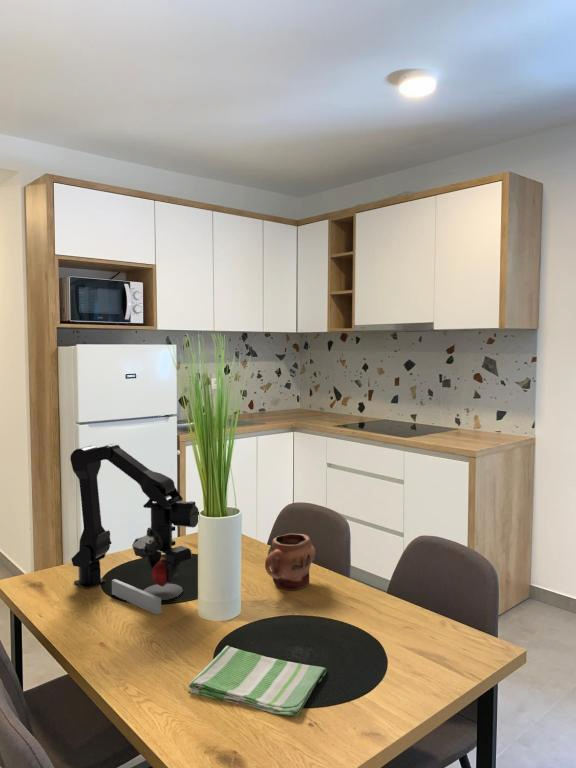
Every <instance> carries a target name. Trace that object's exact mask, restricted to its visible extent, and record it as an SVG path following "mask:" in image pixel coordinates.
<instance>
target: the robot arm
mask: <svg viewBox="0 0 576 768" xmlns="http://www.w3.org/2000/svg"><path fill="white" fill-rule="evenodd" d="M105 460H107V461H108V462H109V463H111V464H112V465H114V466H115V467H116V468H118V469H119V470H120V471H122V472H123V473H124V474H126V475H127V476H129V478H131V480H134V482H136V483H137V484H138V485H139V486H140V488H141V491H142V492H143V494H145V496H146V497H147V498H148V501H147V502H145V503H144V504H143V507H142V508H145V509H150V527H147V529H146V535H144V536H141V537H138V538H135V539H134V541H133V543H132V545H131V546H132V549H133V552H134V555H135V557H140V558H141V559H146V561H147V563H148V565H149V569H150V572H152V569H153V567H154V566H155V564H156V563H158V562H159V561H160V559H161V558H162V553H163V554H165V558H164V559H165V560H162V562H163V563H164V564H165V565H166V576H167V582H168V583H172V581H173V578H174V576H175V574H176V572H177V569H178V567H179V566H180V565H181V562H184V561H188V560H190V559H192V550H191V548H189V547H186V546H183V545H178V546H176V540H173V531H176V527H185V528H195V527H197V525H198V523H199V521H198V515H199V516H200V511H199V508H198V506H196V505H197V504H196V501H185V500H184V499H183V497H182V495H181V494H180V492H179V491H178V489H177V487H176V486H175V482H174V480H173V479H172V478H170V477H169V476H167V475H166V474H163V473H160V472H157V471H153V470H151V469H150V468H148V467H147V466H145V465H144V464H143V463H141V461H139V460H137V459H136V458H134V457H133V456H132V455H131V454H129V453H128V452H126V451H125V450H124V449H122V448H121V446H120V445H119V444H117V443H111V444H107V445H105V446H99V447H96V446H95V445H89V446H83V447H80V448H76V449H75V450H73V451H72V453H71V454H70V463H71V467H72V471H73V473H74V474H75V475H76V477H77V478H78V481H79V492H80V493H79V494H80V502H81V504H80V505H81V513H82V523H83V530H82V533H81V535H80V538H79V547H78V548H79V550H78V551H77V552H76V553H75V555H73V556H72V558H71V563H72V566H73V567H77V568H78V580H74V581H73V583H74V584H75V585H77V586H79V587H81V588H84V589H88V588H92V587H95V586H98V585H100V584H103V583H104V584H105V583H106V580H105V579H103V578H101V577H102V576H101V575H102V574H101V562H100V560H103V559H104V558H105V557H106V554H107V553H108V551H109V550H110V547H111V544H112V543H113V542H112V541H111V540H112V539H111V532H110V530H109V529H108V530H106V529H105V528H104V527H103V525H102V518H101V517H102V516H101V506H100V505H101V503H100V496H99V487H98V486H99V484H98V483H99V482H98V475H99V473H100V469H101V466H102V461H105ZM168 498H169V499H168ZM173 525H174V526H173ZM173 546H176V547H173Z"/></svg>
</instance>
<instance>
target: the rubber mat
mask: <svg viewBox="0 0 576 768" xmlns="http://www.w3.org/2000/svg"><path fill="white" fill-rule="evenodd" d="M142 590H143V591H145V592H148V593H150V594H152V595H155V596H157V597H160V598H161V602H163V601H162V600H167V601H170V600H169V599H172V598H175V597H177V598H179V597H180V596H181V595H182V594H183V593H184V591H183V590H184V589H183V587H182V586H180V585H178V584H176V583H170V582H168V583H167V584H165V585H164V586H160V585H158V584H156V583H155V584H152V585H151V586H150V585H149V586H148V587H146V588H145V589H142ZM182 592H183V593H182ZM181 593H182V594H181ZM180 594H181V595H180ZM179 595H180V596H179ZM178 596H179V597H178ZM175 599H176V598H175ZM172 600H173V599H172Z"/></svg>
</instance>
